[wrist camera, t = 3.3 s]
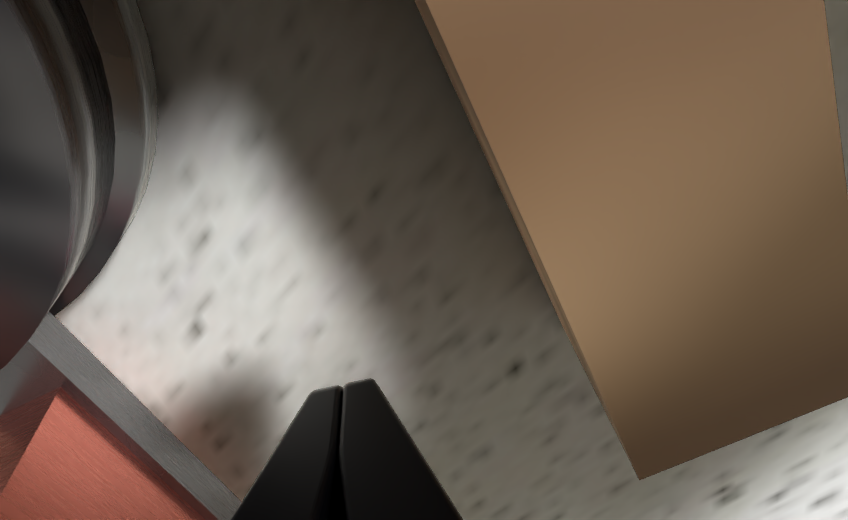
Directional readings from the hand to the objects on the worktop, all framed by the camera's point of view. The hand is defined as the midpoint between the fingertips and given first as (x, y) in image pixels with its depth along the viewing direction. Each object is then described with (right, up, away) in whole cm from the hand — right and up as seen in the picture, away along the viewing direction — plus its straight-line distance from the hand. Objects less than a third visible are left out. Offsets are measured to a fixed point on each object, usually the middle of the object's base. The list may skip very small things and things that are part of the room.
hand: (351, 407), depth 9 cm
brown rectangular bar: (+2, +7, +1) cm, 7 cm away
